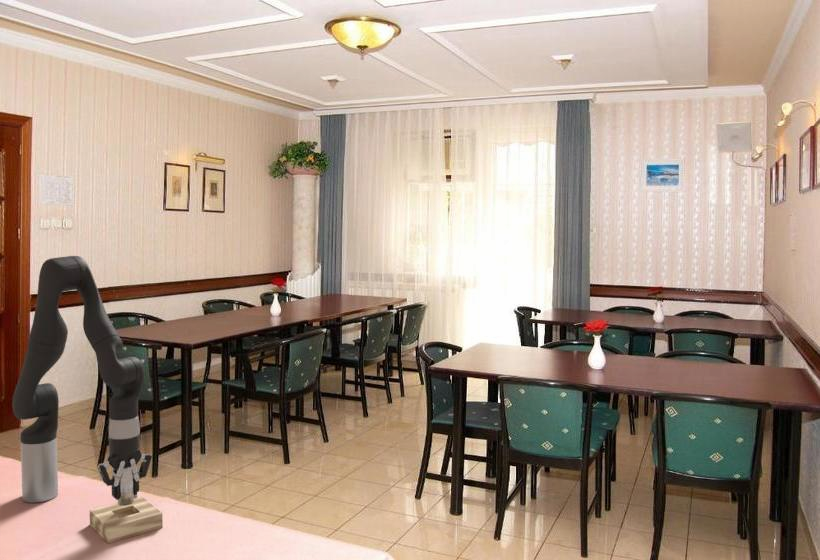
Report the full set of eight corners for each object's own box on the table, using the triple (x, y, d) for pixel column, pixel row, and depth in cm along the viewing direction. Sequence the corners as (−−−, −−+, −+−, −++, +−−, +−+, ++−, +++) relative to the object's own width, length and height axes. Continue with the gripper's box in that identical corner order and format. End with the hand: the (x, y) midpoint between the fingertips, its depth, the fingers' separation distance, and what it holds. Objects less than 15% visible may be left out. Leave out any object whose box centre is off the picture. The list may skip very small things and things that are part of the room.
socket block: (89, 524, 183) (89, 510, 182) (142, 510, 192) (142, 496, 192) (108, 543, 172) (107, 528, 172) (162, 527, 182) (162, 513, 181)
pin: (115, 502, 182) (114, 465, 181) (130, 498, 184) (130, 462, 184) (120, 506, 179) (120, 469, 178) (136, 502, 181) (135, 466, 181)
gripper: (145, 425, 188) (146, 485, 189) (91, 435, 178) (92, 499, 179) (156, 431, 182) (157, 493, 184) (101, 442, 172) (102, 508, 174)
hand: (125, 496), depth 181 cm, fingers closed on pin, 4 cm apart
